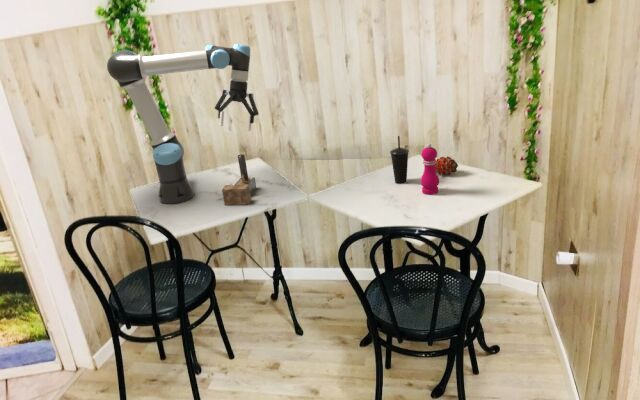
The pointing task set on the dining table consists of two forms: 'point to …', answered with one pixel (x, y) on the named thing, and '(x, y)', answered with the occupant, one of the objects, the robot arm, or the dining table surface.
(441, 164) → the pine cone
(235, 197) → the socket block
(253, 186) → the channel
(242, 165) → the mallet
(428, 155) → the pepper mill
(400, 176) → the drinking cup
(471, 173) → the dining table surface
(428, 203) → the dining table surface
